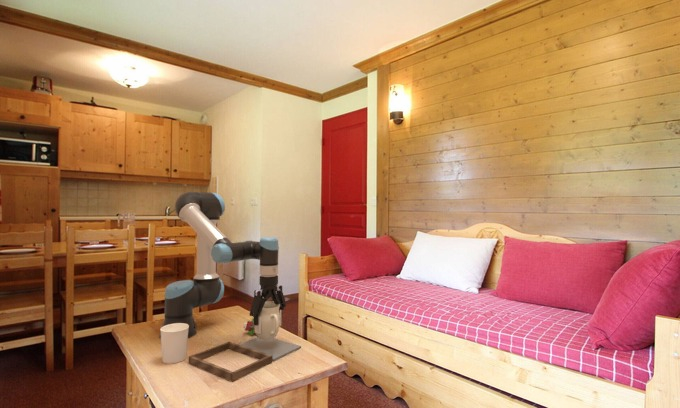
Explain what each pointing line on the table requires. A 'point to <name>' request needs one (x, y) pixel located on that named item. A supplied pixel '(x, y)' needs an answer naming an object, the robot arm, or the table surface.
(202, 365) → the frame
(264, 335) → the pitcher
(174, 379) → the table surface
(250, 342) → the slate board
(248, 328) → the geometric puzzle
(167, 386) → the table surface
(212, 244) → the robot arm
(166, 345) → the candle holder
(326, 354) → the table surface
